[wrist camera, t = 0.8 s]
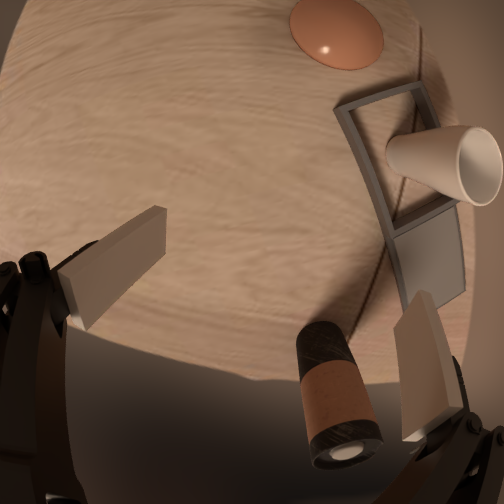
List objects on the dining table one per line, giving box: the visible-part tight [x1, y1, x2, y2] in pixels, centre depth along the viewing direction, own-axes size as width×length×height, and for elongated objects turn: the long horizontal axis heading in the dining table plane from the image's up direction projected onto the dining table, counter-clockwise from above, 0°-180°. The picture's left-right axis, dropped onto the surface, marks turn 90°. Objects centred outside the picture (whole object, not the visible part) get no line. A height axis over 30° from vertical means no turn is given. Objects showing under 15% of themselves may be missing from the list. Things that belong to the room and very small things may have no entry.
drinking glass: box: [386, 125, 503, 206], centre depth 21 cm, size 7×7×15 cm
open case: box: [333, 80, 466, 314], centre depth 30 cm, size 33×13×2 cm, turn 27°
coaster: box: [289, 0, 384, 70], centre depth 23 cm, size 12×12×1 cm
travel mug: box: [296, 321, 384, 470], centre depth 29 cm, size 8×8×20 cm
